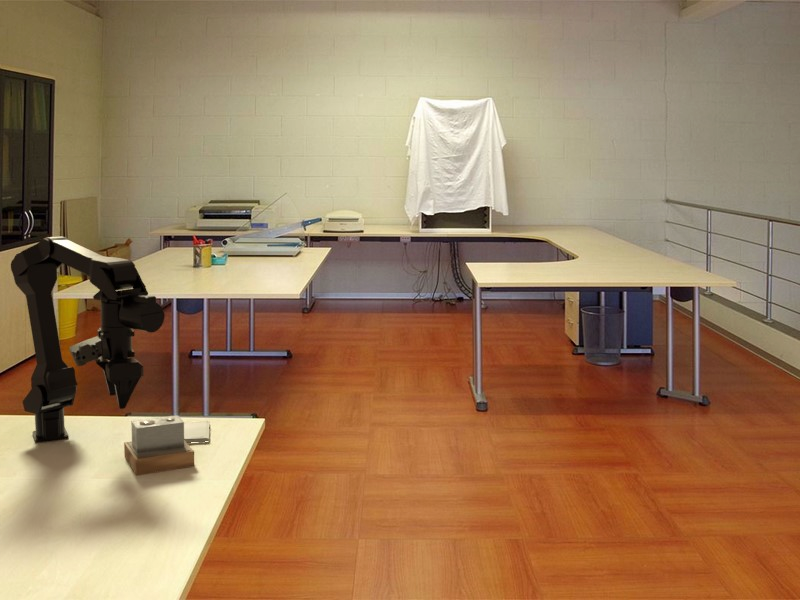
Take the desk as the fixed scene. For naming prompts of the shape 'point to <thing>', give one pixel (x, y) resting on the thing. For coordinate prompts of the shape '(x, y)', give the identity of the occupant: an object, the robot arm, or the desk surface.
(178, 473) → the desk surface
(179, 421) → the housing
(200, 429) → the hard drive
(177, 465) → the stand
